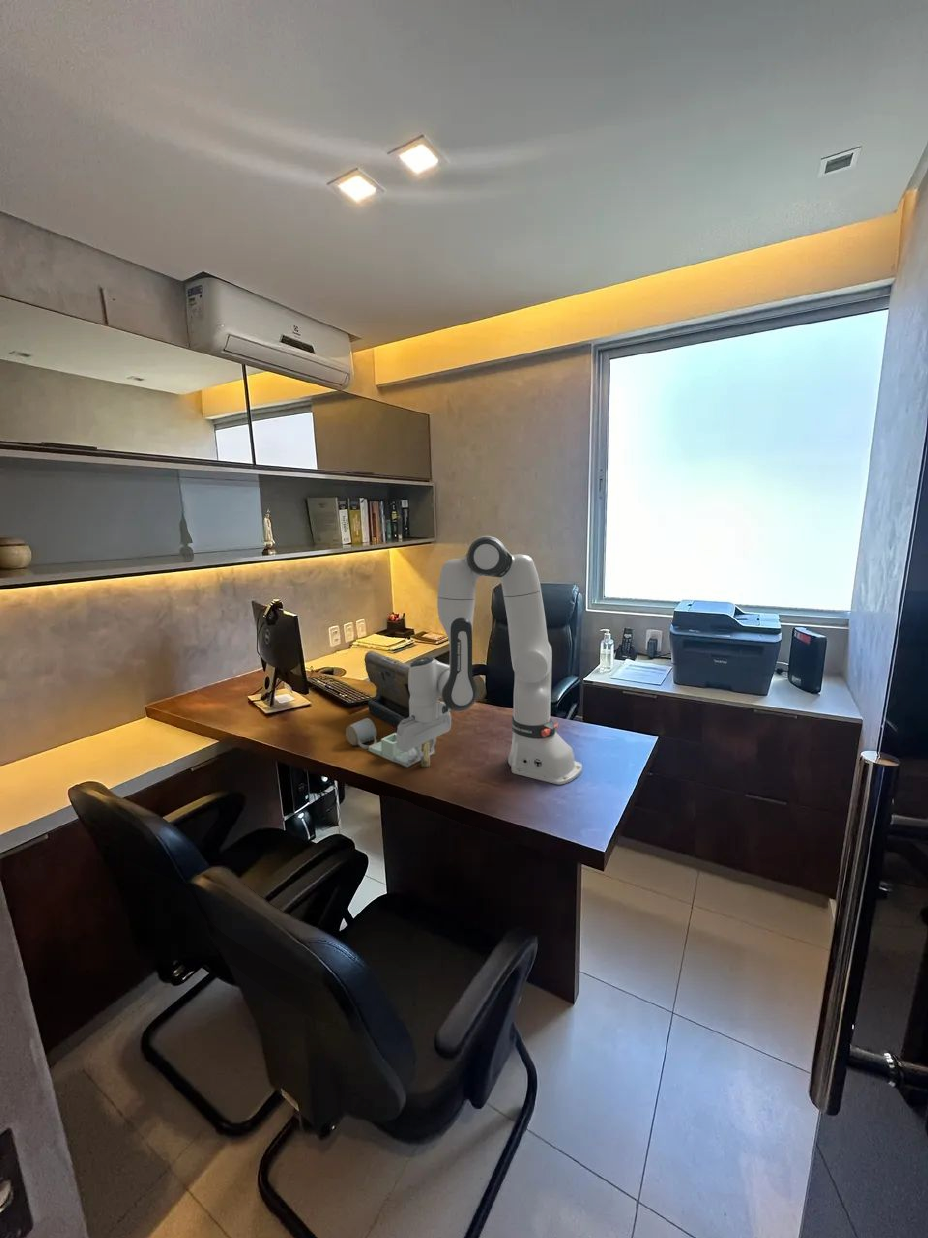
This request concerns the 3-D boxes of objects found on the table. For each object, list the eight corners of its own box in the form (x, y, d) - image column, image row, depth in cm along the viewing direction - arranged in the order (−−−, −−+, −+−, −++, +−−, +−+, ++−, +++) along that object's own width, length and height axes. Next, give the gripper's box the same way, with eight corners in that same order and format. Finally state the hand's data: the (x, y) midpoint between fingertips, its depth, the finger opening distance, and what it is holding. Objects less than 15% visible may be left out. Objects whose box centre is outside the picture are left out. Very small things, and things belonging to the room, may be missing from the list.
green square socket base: (421, 748, 161) (420, 731, 160) (393, 762, 152) (392, 744, 151) (396, 738, 168) (395, 722, 167) (368, 750, 160) (367, 733, 158)
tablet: (443, 726, 178) (441, 660, 173) (413, 738, 168) (411, 669, 164) (388, 704, 201) (386, 645, 196) (360, 714, 191) (356, 652, 186)
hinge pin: (432, 764, 150) (431, 737, 148) (425, 768, 148) (424, 740, 146) (425, 761, 152) (424, 734, 150) (419, 765, 149) (418, 737, 148)
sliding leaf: (434, 753, 157) (434, 739, 156) (406, 767, 148) (406, 752, 147) (409, 743, 164) (408, 729, 163) (381, 756, 155) (380, 742, 154)
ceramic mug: (344, 742, 166) (343, 721, 164) (365, 735, 171) (364, 715, 170) (361, 753, 158) (360, 731, 157) (382, 745, 164) (382, 723, 162)
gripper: (405, 724, 137) (407, 770, 139) (454, 704, 152) (454, 745, 154) (390, 719, 141) (392, 763, 143) (439, 699, 156) (440, 740, 158)
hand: (425, 754), depth 149 cm, fingers closed on hinge pin, 3 cm apart
